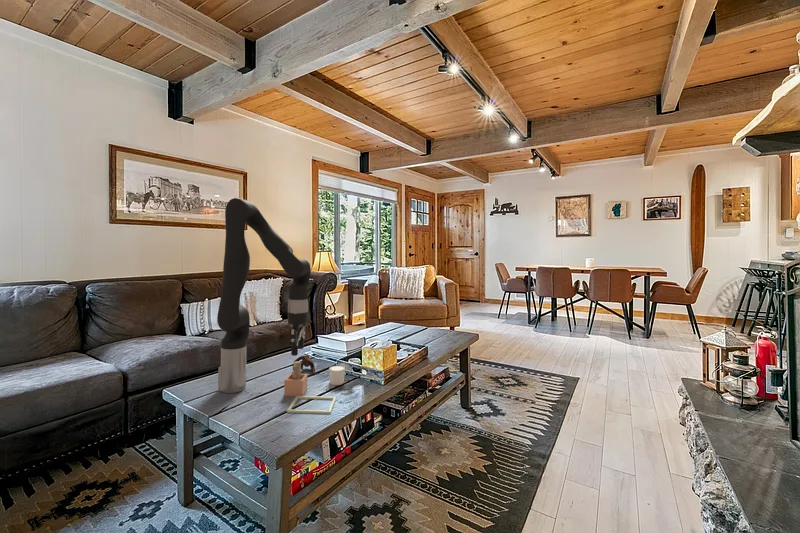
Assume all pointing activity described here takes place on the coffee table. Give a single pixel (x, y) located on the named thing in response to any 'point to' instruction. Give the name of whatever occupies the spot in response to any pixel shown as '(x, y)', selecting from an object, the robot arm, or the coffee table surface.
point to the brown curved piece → (305, 362)
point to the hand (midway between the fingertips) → (297, 351)
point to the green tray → (311, 410)
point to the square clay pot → (295, 385)
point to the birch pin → (297, 370)
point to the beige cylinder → (336, 375)
